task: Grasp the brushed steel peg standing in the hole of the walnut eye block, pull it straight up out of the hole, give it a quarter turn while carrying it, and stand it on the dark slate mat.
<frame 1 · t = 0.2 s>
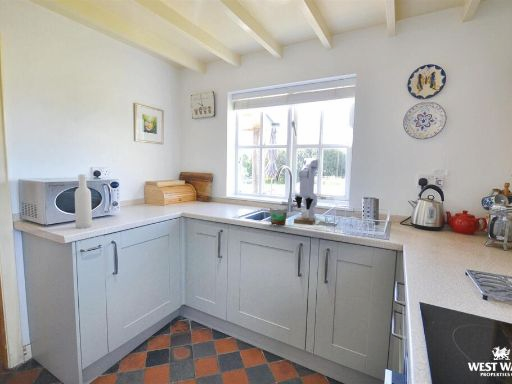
hand: (303, 208, 170), 10 cm above the worktop, tool pointing down, fingers open, 7 cm apart
bottle: (84, 227, 149), on the worktop
mat: (327, 223, 172), on the worktop
food container: (276, 224, 166), on the worktop
steel peg: (304, 216, 176), in the eye block
eye block: (304, 222, 176), on the worktop
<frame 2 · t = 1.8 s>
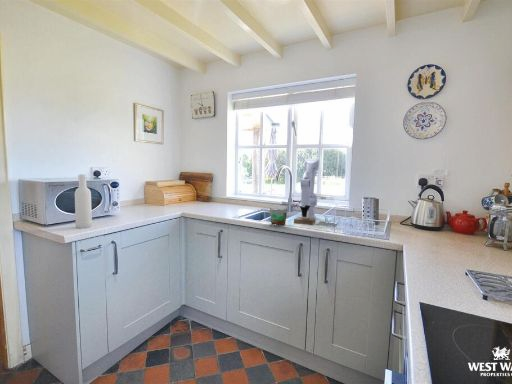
hand: (304, 216, 176), 4 cm above the worktop, tool pointing down, fingers closed on steel peg, 3 cm apart
steel peg: (304, 216, 176), in the eye block, touching gripper
everything else where it was.
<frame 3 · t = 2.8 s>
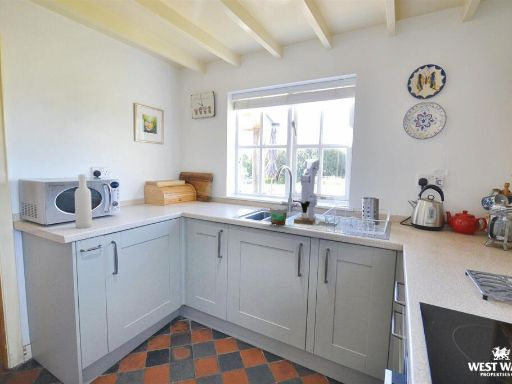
hand: (305, 212, 175), 7 cm above the worktop, tool pointing down, fingers closed on steel peg, 3 cm apart
steel peg: (304, 212, 175), point 7 cm above the worktop, touching gripper
everything else where it was.
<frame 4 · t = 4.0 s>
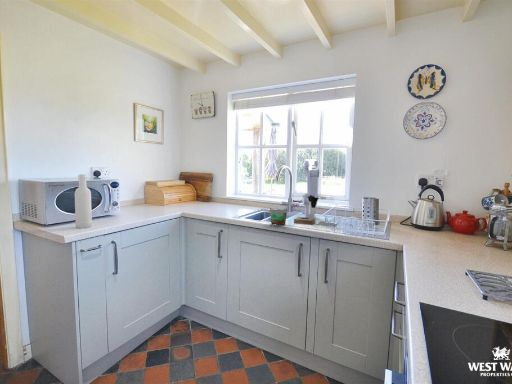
hand: (312, 207, 174), 10 cm above the worktop, tool pointing down, fingers closed on steel peg, 3 cm apart
steel peg: (312, 207, 174), point 10 cm above the worktop, touching gripper
everything else where it was.
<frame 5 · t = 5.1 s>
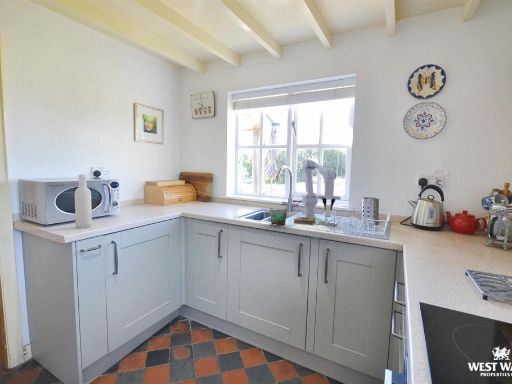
hand: (328, 210, 172), 9 cm above the worktop, tool pointing down, fingers closed on steel peg, 3 cm apart
steel peg: (328, 210, 171), point 9 cm above the worktop, touching gripper
everything else where it was.
when the fingers open (5 cm above the worktop, at t = 6.0 s): steel peg stays where it is, resting on mat.
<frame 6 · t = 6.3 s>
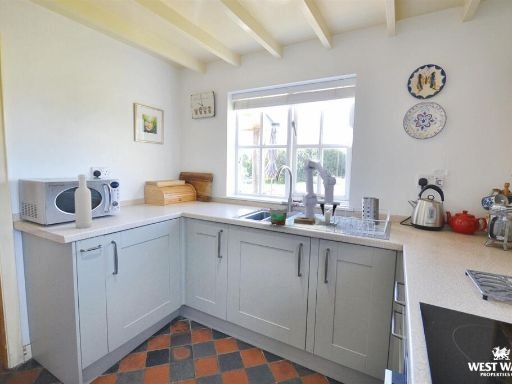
hand: (328, 215, 172), 5 cm above the worktop, tool pointing down, fingers open, 5 cm apart
steel peg: (327, 217, 172), resting on mat
everything else where it was.
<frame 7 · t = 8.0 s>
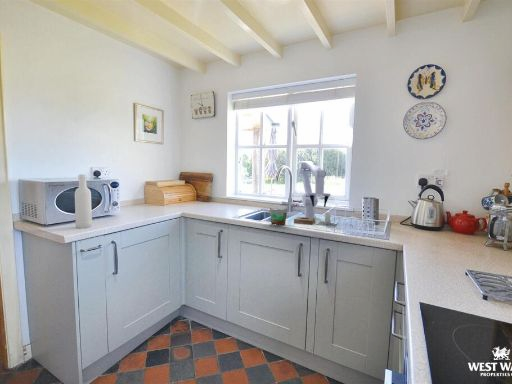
hand: (318, 206, 178), 10 cm above the worktop, tool pointing down, fingers open, 7 cm apart
nothing on the worktop moved.
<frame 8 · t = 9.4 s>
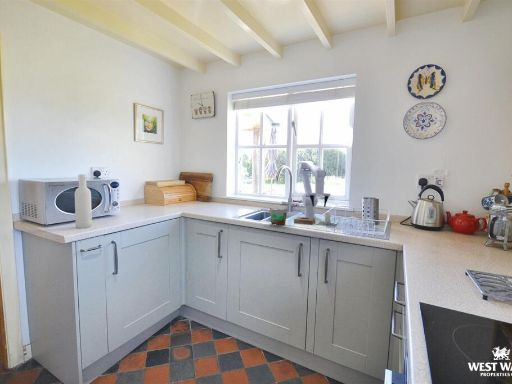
hand: (318, 206, 178), 10 cm above the worktop, tool pointing down, fingers open, 7 cm apart
nothing on the worktop moved.
at the end: steel peg inside the target area on the mat (0.4 cm from its centre), point 4.1 cm above the mat's base; steel peg tilted 0°; the gripper is holding nothing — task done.
